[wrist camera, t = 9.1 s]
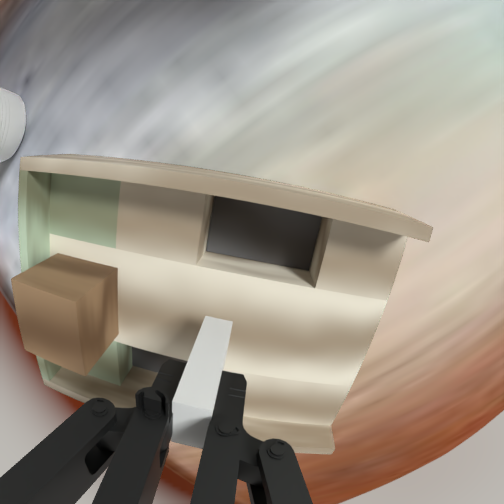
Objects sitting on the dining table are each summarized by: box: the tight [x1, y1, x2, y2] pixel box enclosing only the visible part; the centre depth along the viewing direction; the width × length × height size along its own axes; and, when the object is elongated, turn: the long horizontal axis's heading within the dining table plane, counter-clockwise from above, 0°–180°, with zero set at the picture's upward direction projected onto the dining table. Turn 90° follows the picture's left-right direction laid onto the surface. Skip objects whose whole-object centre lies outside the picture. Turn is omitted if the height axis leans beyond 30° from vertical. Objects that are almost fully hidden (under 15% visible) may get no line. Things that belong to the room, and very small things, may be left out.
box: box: [18, 154, 433, 454], centre depth 19 cm, size 18×23×6 cm
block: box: [11, 253, 119, 376], centre depth 16 cm, size 5×5×5 cm
